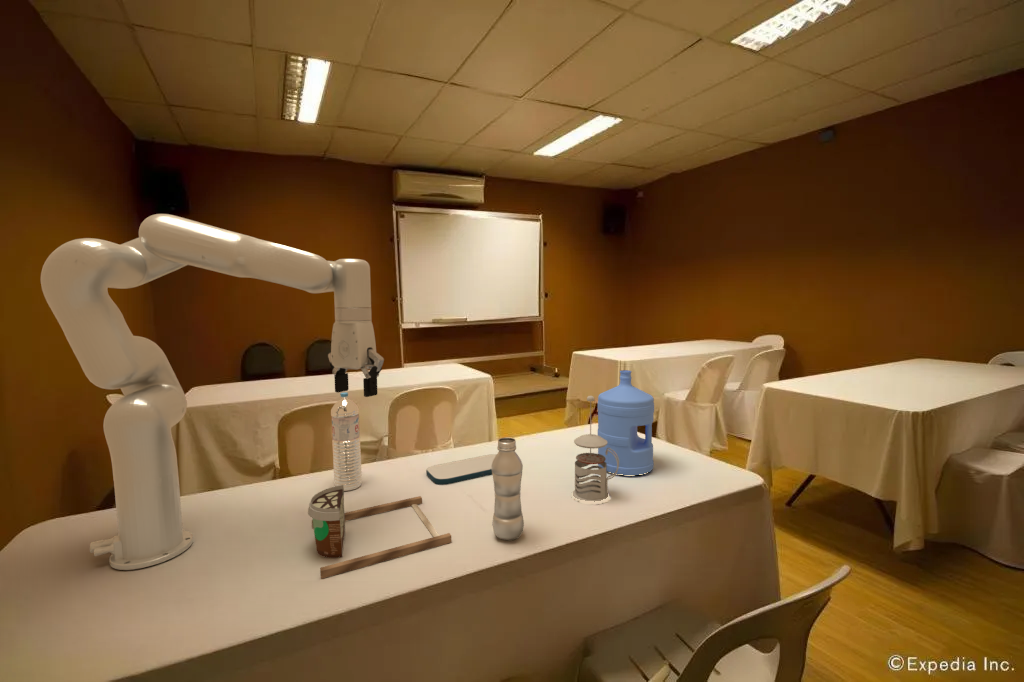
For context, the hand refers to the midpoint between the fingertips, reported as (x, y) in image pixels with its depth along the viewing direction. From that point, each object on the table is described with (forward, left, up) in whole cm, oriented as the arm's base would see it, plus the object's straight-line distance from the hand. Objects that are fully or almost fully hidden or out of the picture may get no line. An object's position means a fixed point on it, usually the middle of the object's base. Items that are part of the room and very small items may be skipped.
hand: (355, 393), depth 98 cm
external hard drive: (+32, +12, -29) cm, 45 cm away
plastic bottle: (+25, -25, -28) cm, 45 cm away
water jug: (+72, -8, -28) cm, 78 cm away
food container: (-8, -11, -28) cm, 31 cm away
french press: (+52, -19, -28) cm, 62 cm away
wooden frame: (+2, -11, -28) cm, 30 cm away
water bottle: (0, +18, -28) cm, 34 cm away
